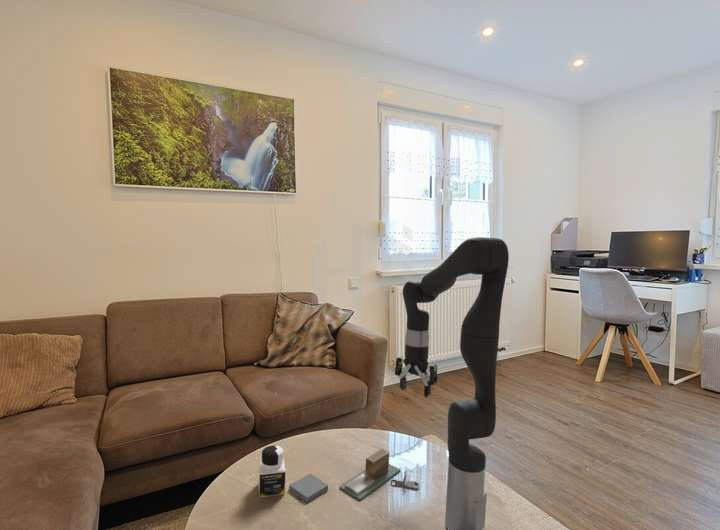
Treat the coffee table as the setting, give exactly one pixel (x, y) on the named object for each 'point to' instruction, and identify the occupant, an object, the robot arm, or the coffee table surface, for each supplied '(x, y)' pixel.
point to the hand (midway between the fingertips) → (414, 392)
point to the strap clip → (408, 483)
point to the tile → (308, 487)
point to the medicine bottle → (272, 472)
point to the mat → (378, 482)
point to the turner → (370, 472)
